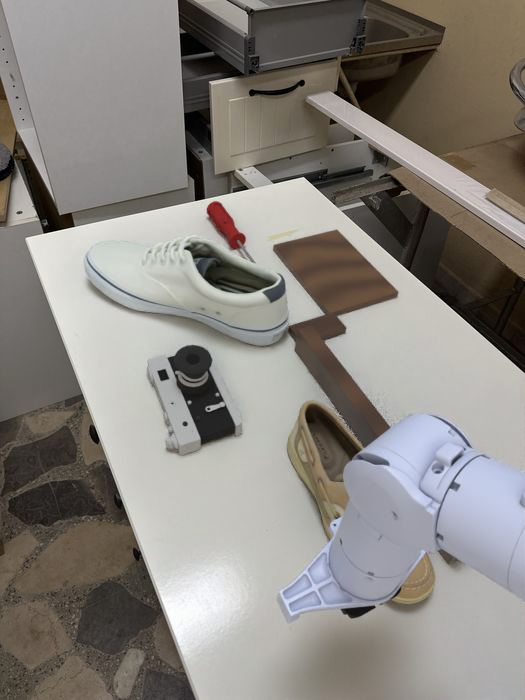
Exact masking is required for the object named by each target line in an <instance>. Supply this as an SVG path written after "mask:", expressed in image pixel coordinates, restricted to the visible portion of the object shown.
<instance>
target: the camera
mask: <svg viewBox="0 0 525 700" xmlns="http://www.w3.org/2000/svg"><path fill="white" fill-rule="evenodd" d="M146 371H147V376H148V379H149V381H150V383H151V384H153V386H154V389H155V392H156V395H157V397H158V400H159V402H160V405H161V408H162V411H163V413H162V415H163V418H164V421H165V422H167V425H168V427H167V431H168V433H169V434H171V435H168V437H167V438H166V439H165V441H164V442H165V447H166V449H170V450H174V449H175V450H178V453H179V455H180V456H184V455H187V454H190V453H191V454H192V453H193V452H196V451H199V450H201V449H202V445H204V444H207V443H210V442H213V441H214V442H215V441H216V440H219V439H223V438H225V437H229V436H232V435H234V436H235V437H238V436H240V435H241V434H242V430H243V429H242V428H243V419H242V417H241V415H240V413H239V411H238V409H237V406H236V404H235V403H234V400H233V398H232V396H231V394H230V392H229V390H228V388H227V386H226V384H225V382H224V379H223V378H222V376H221V373H220V371H219V369H218V367H217V365H216V363H215V361H214V359H213V357H212V354H211V352H210V351H209V349H208V347H207V346H204V345H195V344H190V345H185V346H183V347H181V348H179V349H178V350H177V351H176V353H175V355H171V356H167V354H163V355H158V356H154V357H150V358H148V359H147V366H146Z"/></svg>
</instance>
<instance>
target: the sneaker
mask: <svg viewBox="0 0 525 700" xmlns="http://www.w3.org/2000/svg"><path fill="white" fill-rule="evenodd" d="M255 263H256V262H255ZM255 263H253V262H251V261H250V260H249V259H246V258H243V257H241V256H240V255H237V254H235V253H234V252H233V251H231V250H229V249H228V248H227V247H225V246H223V245H222V244H221V243H219V242H217V241H214V240H212V239H207V238H203V237H202V236H201V235H198V234H191V235H187V236H186V237H185V236H183V237H182V236H178V237H175V238H173V239H169V240H167V241H162V242H161V241H160V242H158V243H156V244H155V245H147V244H143V243H139V242H133V241H126V240H125V241H124V240H105V241H100V242H98V243H95V244H94V245H92V246H91V247H90V248H89V249H88V250H87V252H86V253H85V255H84V257H83V266H84V272H85V275H86V276H87V278H88V280H89V281H90V283H92V284H93V286H94V287H95V288H97V290H99V291H100V292H101V293H103V294H104V295H105V296H106V297H108V298H110V299H111V300H112V301H115V302H116V303H118V304H120V305H121V306H124V307H125V308H129V309H131V310H134V311H137V312H145V313H153V314H163V315H169V316H170V315H171V316H178V317H182V318H183V317H184V318H188V319H192V320H194V321H198V322H200V323H202V324H204V325H206V326H208V327H210V328H212V329H214V330H216V331H218V332H220V333H222V334H224V335H226V336H228V337H230V338H233V339H234V340H236V341H239V342H242V343H245V344H248V345H249V344H250V345H252V346H258V347H265V346H270V345H273V344H275V343H277V342H278V341H280V339H281V338H282V337H283V336H284V333H285V332H286V330H287V329H288V327H289V323H290V319H291V318H290V317H291V315H290V310H289V306H288V297H287V287H286V280H285V277H284V276H283V275H282V274H281V273H279V272H277V271H275V270H273V269H271V268H268V267H266V266H264V265H261V264H258V263H256V264H255Z"/></svg>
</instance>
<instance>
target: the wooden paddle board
mask: <svg viewBox="0 0 525 700" xmlns="http://www.w3.org/2000/svg"><path fill="white" fill-rule="evenodd" d="M272 251H273V252H274V254H275V255H276V256H277V257H278V258H279V259H280V261H281V262H282V263H283V264H284V266H285V267H286V268H287V269H288V270H289V271H290V273H291V274H292V275H293V276H294V278H295V279H296V280H297V282H298V283H299V284H300V285H301V286H302V287H303V289H304V290H305V291H306V293H308V295H309V296H310V297H311V299H312V300H313V301H314V302H315V303H316V305H317V306H318V307H319V308H320V310H321V311H322V312H323V313H324V314H323V315H320V316H316V317H313V318H310V319H307V320H304V321H299V322H297V323H294V324H291V325H288V326H287V332H288V334H289V335H290V337H291V338H292V339H293V341H294V342H295V345H294V352H295V353H296V354H297V356H298V357H299V358H300V359H301V361H302V363H303V364H304V366H305V367H306V369H307V370H308V371H309V372H310V374H311V375H312V377H313V378H314V379H315V381H316V382H317V384H318V386H320V387H321V389H322V391H323V392H324V393H325V395H326V396H327V398H328V399H329V401H330V402H331V403H332V404H333V406H334V408H336V410H337V411H338V413H339V414H340V415H341V417H342V419H343V420H344V421H345V423H346V424H347V425H348V427H349V428H350V430H351V431H352V432H353V435H354V436H355V437H356V438H357V440H358V441H359V442H360V443H361V444H362V446H363V447H364V448H365V447H367V446H368V445H369V444H370V443H372V442H373V441H374V440H376V439H377V438H378V437H379V436H381V435H382V434H383V433H385V432H386V431H387V430H388V429H390V428H391V427H392V426H390V425H389V423H388V422H387V421H386V419H385V418H384V417H383V416H382V413H380V411H379V410H378V409H377V407H376V406H375V405H374V404H373V403H372V402H371V400H370V399H369V397H368V396H367V395H366V393H364V391H363V390H362V388H361V387H360V386H359V385H358V383H357V382H356V381H355V379H354V378H353V377H352V375H351V374H350V373H349V372H348V370H347V369H346V368H345V367H344V365H343V364H342V363H341V362H340V360H339V359H338V357H336V355H335V354H334V352H333V351H332V350H331V349H330V347H329V346H328V345H327V343H326V342H325V341H326V340H328V339H332V338H336V337H338V336H341V335H344V334H346V332H347V326H346V325H345V324H344V323H343V322H342V320H341V319H340V318H339V317H338V316H341V315H343V314H344V315H345V314H347V313H350V312H353V311H356V310H357V311H358V310H360V309H363V308H367V307H369V306H372V305H373V306H374V305H376V304H379V303H383V302H386V301H389V300H392V299H396V298H397V297H398V296H399V290H398V289H397V288H396V287H394V286H393V284H391V282H390V281H389V280H388V279H387V278H386V277H385V276H383V274H382V273H381V272H380V271H379V270H378V269H377V268H376V267H375V266H374V265H373V264H372V263H371V262H370V261H369V260H368V259H367V258H366V257H365V256H364V255H363V254H362V253H361V252H360V251H359V250H358V249H357V248H356V247H355V246H354V245H353V244H352V243H351V242H350V241H349V240H348V239H347V238H346V237H345V236H344V235H343V234H342V233H341V231H339V230H338V229H333V230H329V231H324V232H321V233H317V234H313V235H308V236H303V237H300V238H296V239H291V240H288V241H283V242H279V243H276V244H273V246H272ZM437 551H438V552H439V554H440V555H441V556H442V558H443V559H444V561H445V562H446V563H447V564H448V565H449V564H451V563H453V562H454V561H456V560H458V559H457V558H455V557H454V556H452V555H451V554H449V553H447V552H446V551H444V550H443V549H441V550H437Z"/></svg>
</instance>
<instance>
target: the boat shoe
mask: <svg viewBox="0 0 525 700" xmlns="http://www.w3.org/2000/svg"><path fill="white" fill-rule="evenodd" d="M286 448H287V449H286V450H287V453H288V457H289V459H290V461H291V463H292V465H293V467H294V469H295V471H296V473H297V474H298V476H299V477H300V479H301V480H302V482H303V483H304V485H305V486H306V487H307V488H308V490H309V491H310V492H311V493H312V495H313V497H314V498H315V501H316V503H317V505H318V508H319V512H320V516H321V519H322V524H323V527H324V530H325V533H326V535H327V537H328V539H329V540H328V541H330V540H331V539H332V535H331V533H330V531H329V526H330V523H331V522H332V521H334V520H336V519H338V518H340V517H342V516H343V514H344V512H345V509H346V507H347V504H348V501H349V499H350V498H349V496H348V494H347V491H346V488H345V485H344V480H343V471H344V468H345V466H346V464H347V463H349V462H350V461H352V459H353V457H354V456H355V455H356V454H358V453H359V452H360V451H362V450H363V449H364V448H365V447H364V446H363V445H362V443H361V442H360V441H359V439H358V438H357V436H356V435H355V434H354V433H352V432H351V431H350V429H349V428H348V427H347V425H346V424H345V423H344V422H343V421H342V420H341V419H340V417H339V416H338V415H337V414H336V413H335V412H334V411H333V410H332V409H330V408H329V407H328V406H327V405H325V404H324V403H322V402H320V401H318V400H314V399H313V400H307V401H305V402H304V403H303V404H302V405H301V406H300V409H299V413H298V416H297V418H296V420H295V423H294V425H293V427H292V429H291V431H290V433H289V436H288V438H287V445H286ZM436 578H437V575H436V572H435V568H434V566H433V563H432V561H431V558H430V556H429V553H427V552H426V553H425V554H424V556H423V557H422V558H421V560H420V561H419V562H418V564H417V565H416V566H415V568H414V569H413V570H412V572H411V573H410V574H409V576H408V577H407V579H406V580H405V581H404V583H403V584H402V588H401V591H400V593H399V594H398V596H396V597H395V598H393V599H391V600H390V601H393V602H395V603H398V604H403V605H412V604H416V603H419V602H422V601H423V600H425V599H427V598H428V597H429V596H430V595H431V594H432V593H433V591H434V590H435V587H436V582H437V579H436Z"/></svg>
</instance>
